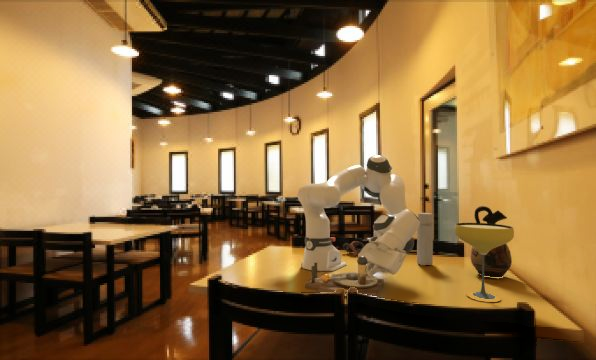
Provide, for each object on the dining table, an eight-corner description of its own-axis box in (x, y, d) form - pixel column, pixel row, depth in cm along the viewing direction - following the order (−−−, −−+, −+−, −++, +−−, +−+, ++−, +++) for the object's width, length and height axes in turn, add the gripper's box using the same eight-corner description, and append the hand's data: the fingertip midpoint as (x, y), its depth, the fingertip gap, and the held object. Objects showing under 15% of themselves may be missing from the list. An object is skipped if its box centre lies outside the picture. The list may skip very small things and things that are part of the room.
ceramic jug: (510, 274, 151) (510, 206, 151) (512, 283, 138) (513, 208, 138) (467, 269, 159) (467, 204, 159) (465, 277, 146) (466, 206, 146)
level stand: (318, 276, 144) (318, 257, 144) (383, 284, 134) (383, 263, 134) (301, 291, 125) (301, 269, 125) (375, 300, 115) (375, 276, 115)
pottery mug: (362, 253, 196) (366, 242, 192) (361, 264, 188) (364, 252, 184) (342, 247, 198) (345, 236, 194) (339, 257, 189) (343, 246, 186)
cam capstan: (313, 279, 132) (313, 250, 132) (363, 274, 139) (363, 247, 139) (331, 292, 116) (332, 259, 116) (387, 286, 123) (387, 255, 123)
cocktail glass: (445, 289, 128) (445, 222, 128) (492, 289, 129) (492, 222, 129) (472, 307, 110) (472, 229, 110) (526, 306, 111) (527, 229, 111)
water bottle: (428, 267, 162) (428, 214, 163) (413, 264, 169) (413, 213, 169) (438, 264, 168) (438, 213, 168) (423, 261, 174) (423, 212, 175)
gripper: (413, 257, 118) (390, 289, 114) (377, 247, 137) (356, 274, 133) (403, 245, 116) (379, 277, 113) (368, 236, 135) (346, 263, 131)
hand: (366, 275), depth 123 cm, fingers closed, pressing on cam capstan
